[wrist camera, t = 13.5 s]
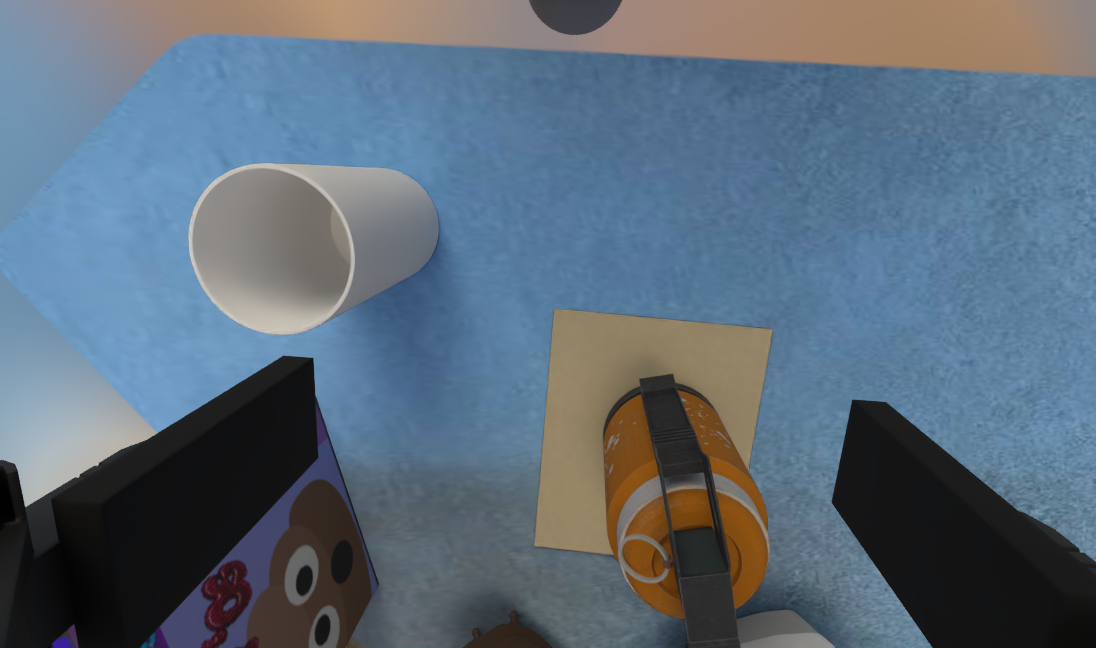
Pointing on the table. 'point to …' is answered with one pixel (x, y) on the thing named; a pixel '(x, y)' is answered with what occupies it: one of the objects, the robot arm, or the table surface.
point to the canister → (683, 509)
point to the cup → (307, 241)
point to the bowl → (778, 631)
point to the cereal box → (281, 575)
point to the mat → (609, 373)
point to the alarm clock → (508, 637)
